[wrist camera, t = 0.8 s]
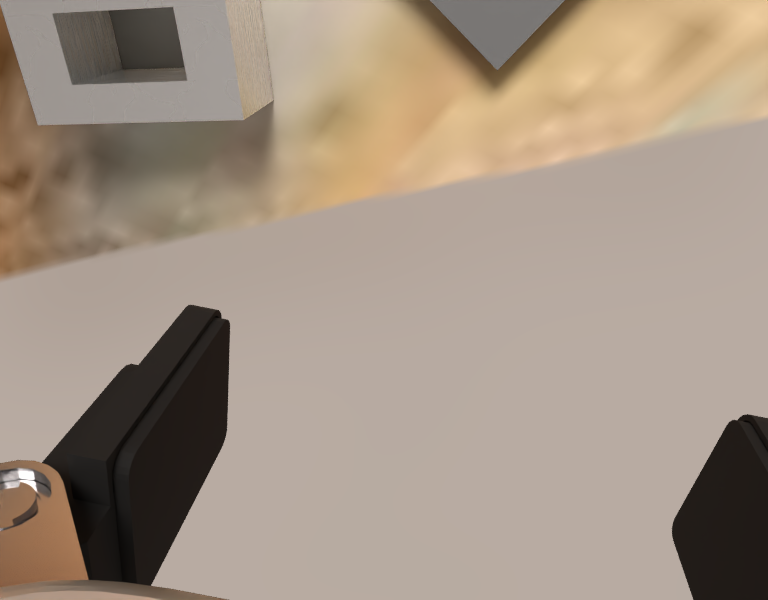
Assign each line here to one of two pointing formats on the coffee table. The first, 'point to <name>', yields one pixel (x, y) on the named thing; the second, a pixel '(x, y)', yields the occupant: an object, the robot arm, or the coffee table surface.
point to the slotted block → (139, 86)
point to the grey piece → (497, 23)
